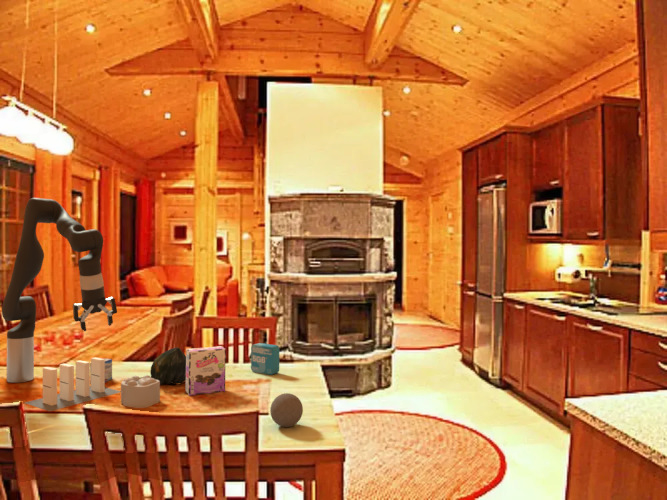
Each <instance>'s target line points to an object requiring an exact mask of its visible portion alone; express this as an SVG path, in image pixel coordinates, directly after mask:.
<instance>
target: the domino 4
mask: <svg viewBox="0 0 667 500" xmlns="http://www.w3.org/2000/svg"><path fill="white" fill-rule="evenodd" d="M105 359H106V358H100V357H91V358H90V363H91V383H90V386H91V390H92V391H95V392H99V393H101V392H105V383H106V382H105Z"/></svg>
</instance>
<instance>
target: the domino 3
mask: <svg viewBox="0 0 667 500" xmlns="http://www.w3.org/2000/svg"><path fill="white" fill-rule="evenodd" d="M90 363H91V361H84V360H76V361H75V390H76V394H77V395H80V396H84V397H86V396H90V386H91V383H90Z"/></svg>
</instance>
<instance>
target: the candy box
mask: <svg viewBox="0 0 667 500" xmlns="http://www.w3.org/2000/svg"><path fill="white" fill-rule="evenodd" d="M226 352H227V350H226V348H225V347H223V346H221V345H219V346H218V345H217V346H207V347H197V348H195V347H194V348H193V347H192V348H186V349H185V356H186V380H185V391H184V392H185V394H187V395H188V396H197V395H199V396H200V395H205V394H207V393H208V394H215V393H222V392H221V391H224V392H226V354H227V353H226ZM214 392H215V393H214ZM208 394H207V395H208Z"/></svg>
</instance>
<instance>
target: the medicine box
mask: <svg viewBox="0 0 667 500" xmlns="http://www.w3.org/2000/svg"><path fill="white" fill-rule="evenodd" d="M104 359H105V383H106V382H108V381H110V380H113V359H111V358H104ZM90 384H91V362H90Z"/></svg>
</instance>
